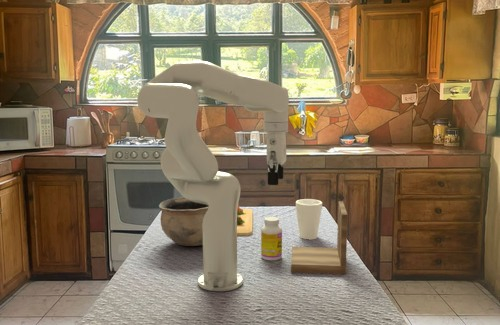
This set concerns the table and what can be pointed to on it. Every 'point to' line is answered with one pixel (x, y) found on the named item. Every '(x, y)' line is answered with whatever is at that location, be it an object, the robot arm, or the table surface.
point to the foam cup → (308, 217)
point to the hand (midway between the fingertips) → (275, 181)
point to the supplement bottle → (271, 239)
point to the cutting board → (244, 222)
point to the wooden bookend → (324, 252)
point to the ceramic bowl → (183, 220)
